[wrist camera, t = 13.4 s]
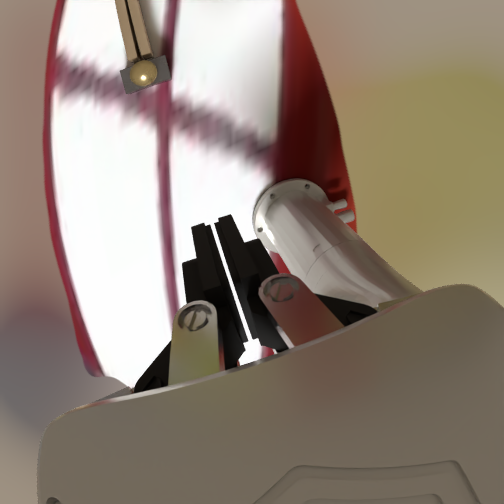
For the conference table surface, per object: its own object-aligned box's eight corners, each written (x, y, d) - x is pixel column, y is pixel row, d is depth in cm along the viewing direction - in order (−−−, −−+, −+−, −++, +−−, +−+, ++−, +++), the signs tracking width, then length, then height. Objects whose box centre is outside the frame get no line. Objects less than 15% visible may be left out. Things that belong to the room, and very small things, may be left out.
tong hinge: (165, 58, 27) (164, 54, 24) (171, 79, 29) (171, 78, 25) (125, 72, 27) (119, 70, 23) (131, 93, 28) (125, 94, 25)
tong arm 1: (129, -41, 17) (124, -56, 13) (153, 57, 26) (150, 52, 22) (121, -38, 16) (116, -53, 12) (145, 60, 26) (141, 55, 22)
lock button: (154, 58, 23) (153, 56, 22) (160, 81, 25) (159, 80, 24) (129, 67, 23) (126, 65, 22) (135, 89, 25) (133, 89, 23)
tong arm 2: (121, -38, 16) (115, -53, 12) (142, 61, 26) (137, 57, 22) (113, -35, 16) (106, -50, 12) (134, 64, 26) (128, 60, 22)
